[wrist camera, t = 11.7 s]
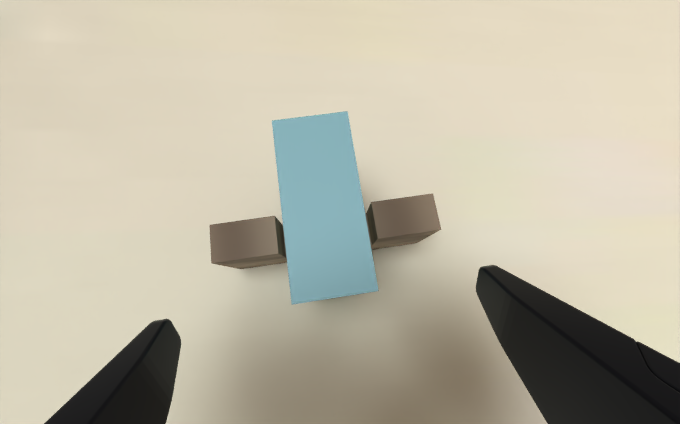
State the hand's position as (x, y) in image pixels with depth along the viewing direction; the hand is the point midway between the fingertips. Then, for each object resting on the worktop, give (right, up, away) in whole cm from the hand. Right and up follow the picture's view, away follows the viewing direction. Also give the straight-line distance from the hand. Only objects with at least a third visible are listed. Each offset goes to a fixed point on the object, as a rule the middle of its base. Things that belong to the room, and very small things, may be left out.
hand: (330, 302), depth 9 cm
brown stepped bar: (-1, +1, +12) cm, 12 cm away
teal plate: (-1, +1, +12) cm, 12 cm away
